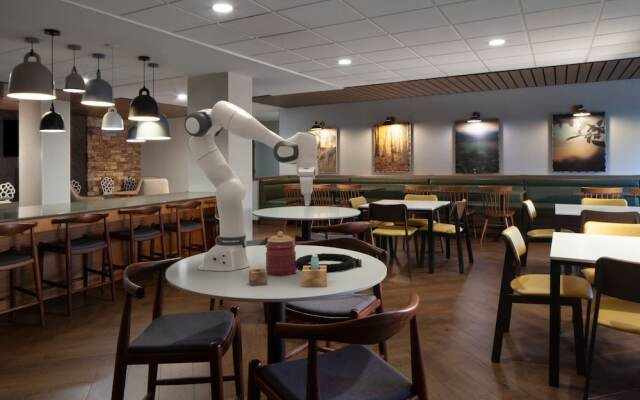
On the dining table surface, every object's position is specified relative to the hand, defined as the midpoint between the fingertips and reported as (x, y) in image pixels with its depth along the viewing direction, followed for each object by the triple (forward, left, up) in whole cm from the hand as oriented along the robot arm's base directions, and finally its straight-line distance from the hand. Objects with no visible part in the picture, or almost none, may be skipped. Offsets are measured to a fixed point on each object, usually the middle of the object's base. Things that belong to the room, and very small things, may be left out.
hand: (307, 204), depth 191 cm
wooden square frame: (+3, -16, -29) cm, 33 cm away
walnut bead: (-19, -15, -29) cm, 38 cm away
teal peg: (+3, -16, -29) cm, 33 cm away
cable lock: (+8, +15, -30) cm, 34 cm away
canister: (-12, +3, -29) cm, 32 cm away
